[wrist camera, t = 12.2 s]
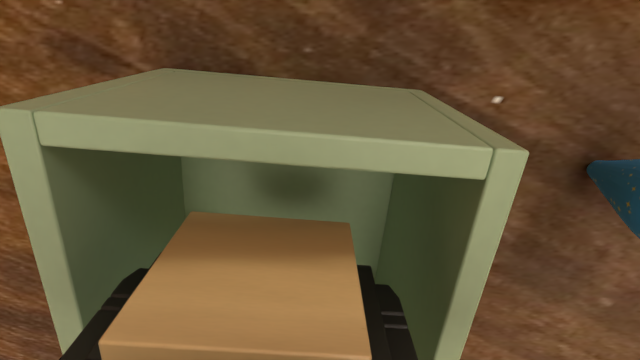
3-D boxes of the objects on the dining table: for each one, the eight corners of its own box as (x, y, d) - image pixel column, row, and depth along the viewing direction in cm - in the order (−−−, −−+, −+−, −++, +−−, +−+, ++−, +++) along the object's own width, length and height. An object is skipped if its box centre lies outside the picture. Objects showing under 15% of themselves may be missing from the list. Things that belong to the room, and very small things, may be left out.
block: (190, 210, 10) (96, 342, 5) (350, 222, 10) (373, 357, 6) (198, 330, 11) (131, 498, 7) (334, 338, 11) (342, 507, 7)
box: (163, 67, 15) (-10, 107, 7) (422, 89, 16) (531, 151, 8) (184, 306, 21) (98, 483, 13) (377, 318, 21) (414, 496, 13)
